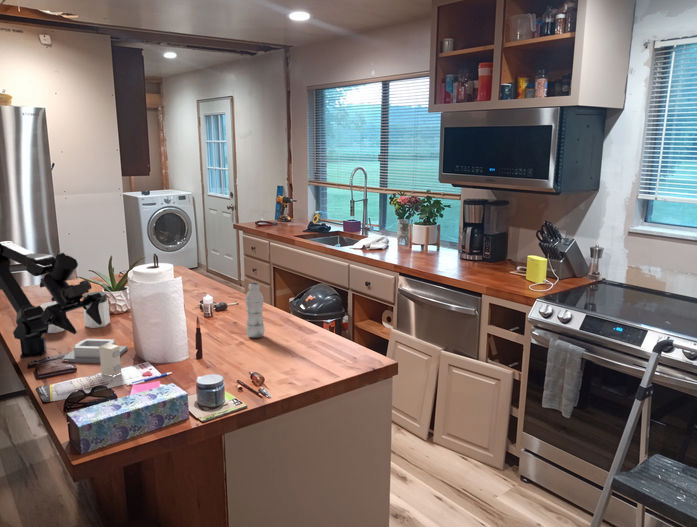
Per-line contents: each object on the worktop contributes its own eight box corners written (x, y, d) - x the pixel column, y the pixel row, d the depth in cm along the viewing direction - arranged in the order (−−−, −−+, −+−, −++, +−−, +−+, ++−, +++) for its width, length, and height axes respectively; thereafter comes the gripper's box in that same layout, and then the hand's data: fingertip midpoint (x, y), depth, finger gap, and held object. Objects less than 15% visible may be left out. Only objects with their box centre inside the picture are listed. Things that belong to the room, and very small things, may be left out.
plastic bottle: (261, 340, 198) (259, 286, 194) (243, 339, 199) (241, 285, 195) (267, 334, 204) (266, 282, 200) (250, 333, 206) (248, 280, 201)
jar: (80, 325, 211) (77, 295, 209) (99, 319, 218) (96, 290, 216) (95, 329, 207) (92, 298, 204) (114, 323, 214) (111, 293, 211)
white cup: (38, 331, 204) (35, 305, 202) (58, 325, 211) (55, 300, 209) (52, 335, 201) (49, 308, 199) (72, 328, 208) (69, 303, 205)
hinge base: (62, 361, 177) (60, 349, 176) (81, 348, 189) (80, 336, 188) (110, 363, 177) (109, 351, 176) (127, 349, 188) (126, 337, 187)
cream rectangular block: (101, 374, 169) (99, 346, 167) (109, 370, 171) (107, 343, 169) (114, 377, 166) (112, 349, 164) (122, 373, 169) (120, 346, 167)
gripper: (42, 280, 160) (73, 322, 158) (96, 267, 176) (124, 305, 174) (27, 303, 165) (57, 344, 163) (81, 288, 181) (108, 325, 179)
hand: (88, 328), depth 169 cm, fingers open, 9 cm apart
